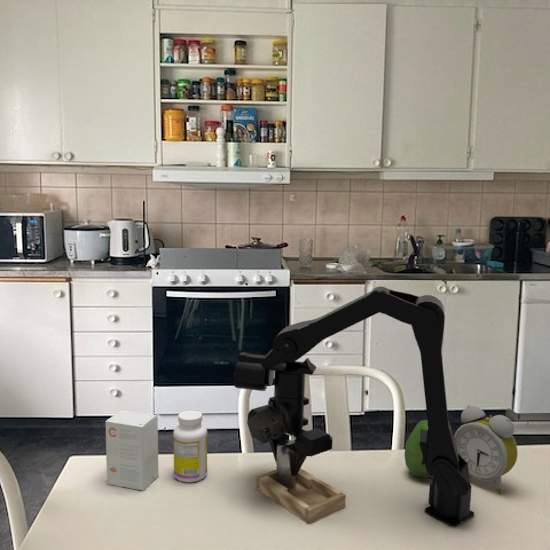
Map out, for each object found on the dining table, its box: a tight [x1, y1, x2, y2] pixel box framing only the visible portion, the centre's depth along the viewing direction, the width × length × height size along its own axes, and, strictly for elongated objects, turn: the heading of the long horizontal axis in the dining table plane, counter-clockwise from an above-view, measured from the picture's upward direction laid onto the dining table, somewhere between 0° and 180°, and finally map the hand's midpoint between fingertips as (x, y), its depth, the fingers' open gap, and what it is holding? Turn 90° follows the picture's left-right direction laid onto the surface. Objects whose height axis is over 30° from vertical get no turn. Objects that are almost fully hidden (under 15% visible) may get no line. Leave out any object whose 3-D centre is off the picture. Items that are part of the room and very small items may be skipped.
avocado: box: [403, 419, 432, 479], centre depth 123 cm, size 8×8×12 cm
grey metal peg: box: [275, 439, 297, 488], centre depth 116 cm, size 4×4×8 cm
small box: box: [104, 409, 160, 491], centre depth 118 cm, size 8×6×13 cm
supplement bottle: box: [172, 410, 208, 483], centre depth 120 cm, size 7×7×13 cm
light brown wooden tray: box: [256, 467, 347, 525], centre depth 114 cm, size 15×9×2 cm, turn 39°
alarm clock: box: [453, 404, 518, 494], centre depth 121 cm, size 12×7×15 cm, turn 42°
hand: (286, 470), depth 116 cm, fingers closed on grey metal peg, 4 cm apart
